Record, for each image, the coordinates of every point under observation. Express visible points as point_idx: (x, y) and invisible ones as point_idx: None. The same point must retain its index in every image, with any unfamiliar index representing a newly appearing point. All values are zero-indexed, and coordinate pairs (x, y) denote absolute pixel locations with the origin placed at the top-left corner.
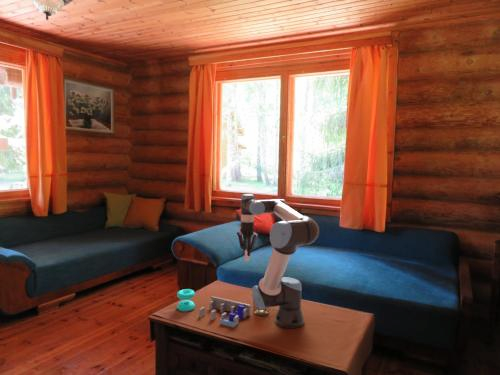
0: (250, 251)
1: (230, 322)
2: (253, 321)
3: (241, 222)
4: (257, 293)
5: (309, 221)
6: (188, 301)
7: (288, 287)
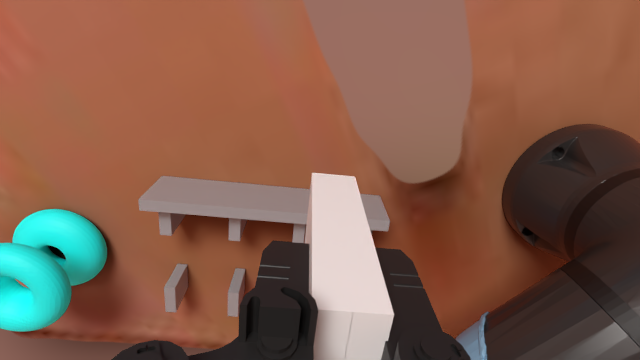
0: (436, 319)
1: None
2: (408, 240)
3: None
4: None
5: None
6: (50, 244)
7: None
